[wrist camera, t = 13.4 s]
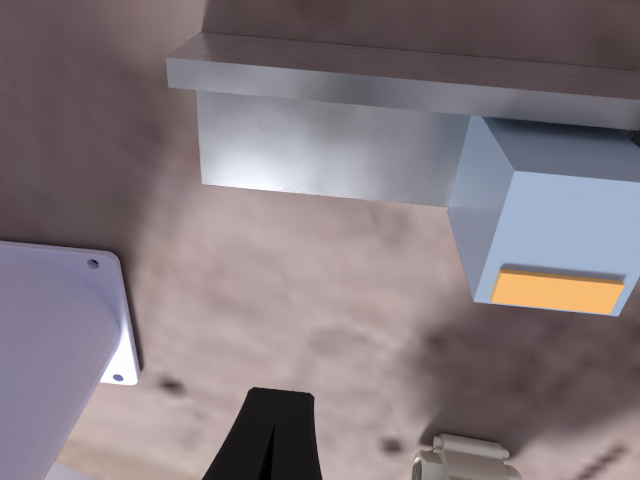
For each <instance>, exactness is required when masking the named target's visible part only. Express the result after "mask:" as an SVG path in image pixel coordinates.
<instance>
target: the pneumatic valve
mask: <svg viewBox="0 0 640 480" xmlns="http://www.w3.org/2000/svg"><path fill="white" fill-rule="evenodd" d="M433 447H434V448H435V449H434V450H433V452H429V451H423V450H421V451H419V452H418V453H417V454H416V455H415V457H414V460H413V464H412V469H411V480H523V479H522V476H521V474H520V473H519V472H518V471H517V470H516V469H515V468H514V467H512V466H510V465H505V464H504V462H503V461H506V460H507V458H509V452H508V451H507V449H506V448H503V447H502V446H501V444H500V443H495V442H489V441H484V440H478V439H472V438H467V437H461V436H455V435H449V434H444V433H441V434H440V435H439V436H435V437H434V440H433Z"/></svg>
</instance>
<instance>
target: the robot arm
mask: <svg viewBox="0 0 640 480" xmlns="http://www.w3.org/2000/svg"><path fill="white" fill-rule="evenodd" d="M92 259H93V260H96V261H97V262H98V263H99V264H97V263H94V262H93V261H92ZM140 376H141V374H140V368H139V363H138V358H137V352H136V347H135V341H134V336H133V331H132V325H131V320H130V314H129V309H128V304H127V298H126V293H125V287H124V282H123V277H122V271H121V266H120V261H119V259H118V257H117V256H116V255H115V254H113V253H111V252H108V251H101V250H91V249H80V248H70V247H60V246H50V245H39V244H29V243H19V242H9V241H0V480H44V479H45V477H46V476H47V474H48V472H49V470H50V469H51V467H52V465H53V463H54V461H55V460H56V458H57V456H58V454H59V453H60V451H61V449H62V447H63V445H64V444H65V442H66V440H67V438H68V436H69V435H70V433H71V431H72V429H73V428H74V426H75V424H76V422H77V420H78V419H79V417H80V415H81V413H82V412H83V410H84V408H85V406H86V404H87V403H88V401H89V399H90V397H91V396H92V394H93V392H94V390H95V388H96V387H97V385H98V383H99V382H105V383H115V384H124V385H134V384H137V382H138V381H139V379H140ZM314 398H315V397H314V396H313V395H312V394H310V393H305V392H295V391H286V390H277V389H267V388H258V387H253V388H252V389H250V390H249V391H248V394H247V396H246V399H245V401H244V403H243V406H242V408H241V410H240V412H239V414H238V416H237V418H236V420H235V422H234V424H233V426H232V428H231V430H230V432H229V434H228V436H227V438H226V439H225V441H224V443H223V445H222V447H221V448H220V450H219V452H218V454H217V455H216V457H215V459H214V460H213V462H212V464H211V465H210V467H209V469H208V470H207V472H206V474H205V475H204V477H203V479H202V480H322V475H321V470H320V464H319V458H318V451H317V443H316V435H315V423H314Z"/></svg>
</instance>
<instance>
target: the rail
mask: <svg viewBox="0 0 640 480" xmlns="http://www.w3.org/2000/svg"><path fill="white" fill-rule="evenodd" d="M165 58H166V69H167V79H168V88H177V89H188V90H196V105H197V120H198V135H199V150H200V165H201V180H202V184H208V185H219V186H229V187H240V188H250V189H261V190H271V191H282V192H293V193H303V194H314V195H324V196H335V197H345V198H356V199H367V200H377V201H388V202H398V203H409V204H419V205H430V206H440V207H449V203H450V198H451V194H452V190H453V186H454V182H455V178H456V174H457V170H458V166H459V162H460V158H461V154H462V150H463V146H464V142H465V137H466V133H467V129H468V125H469V121H470V117H471V115H474V116H485V117H496V118H506V119H517V120H528V121H539V122H550V123H561V124H572V125H583V126H594V127H605V128H616V129H617V130H619V131H620V132H621V133H622V134H623V135H625V136H626V137H627V138H628V139H630V140H631V141H632V142H633V143H634V144H636V145H637V146H638V147H639V148H640V71H633V70H622V69H611V68H599V67H588V66H577V65H566V64H554V63H543V62H532V61H521V60H510V59H498V58H487V57H476V56H465V55H453V54H442V53H431V52H420V51H408V50H397V49H386V48H375V47H363V46H352V45H341V44H330V43H319V42H307V41H296V40H285V39H274V38H262V37H251V36H240V35H229V34H217V33H206V32H200V33H199V34H197V35H196V36H195V37H193V38H192V39H190V40H189V41H188V42H186V43H185V44H183V45H182V46H181V47H179V48H178V49H177V50H175V51H174V52H172V53H171V54H170V55H168V56H167V57H165Z"/></svg>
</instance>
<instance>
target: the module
mask: <svg viewBox="0 0 640 480" xmlns="http://www.w3.org/2000/svg"><path fill="white" fill-rule="evenodd" d="M447 214H448V217H449V221H450V224H451V227H452V231H453V234H454V238H455V241H456V244H457V248H458V251H459V255H460V258H461V261H462V265H463V268H464V272H465V275H466V278H467V282H468V285H469V289H470V292H471V295H472V299H473V302H479V303H489V304H499V305H509V306H519V307H529V308H539V309H549V310H559V311H569V312H579V313H590V314H600V315H610V316H619V314H620V312H621V310H622V308H623V307H624V305H625V303H626V301H627V299H628V297H629V295H630V293H631V292H632V290H633V288H634V286H635V284H636V282H637V280H638V279H639V277H640V148H639V147H638V146H637V145H636V144H634V143H633V142H632V141H631V140H630V139H628V138H627V137H626V136H625V135H623V134H622V133H621V132H620V131H619V130H617V129H616V128H605V127H594V126H583V125H572V124H561V123H550V122H539V121H528V120H517V119H506V118H496V117H485V116H474V115H471V117H470V121H469V125H468V129H467V133H466V137H465V142H464V146H463V150H462V154H461V158H460V162H459V166H458V170H457V174H456V178H455V182H454V186H453V190H452V194H451V198H450V203H449V207H448V211H447Z"/></svg>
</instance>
